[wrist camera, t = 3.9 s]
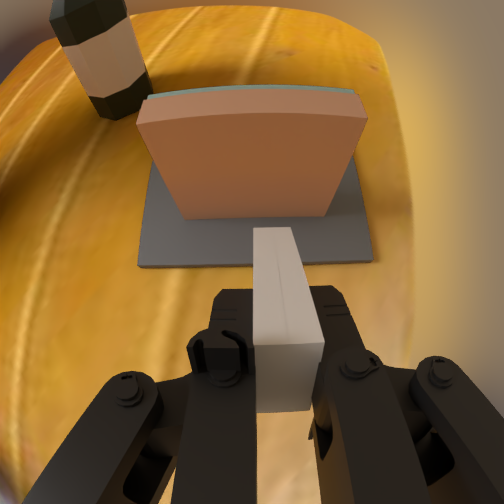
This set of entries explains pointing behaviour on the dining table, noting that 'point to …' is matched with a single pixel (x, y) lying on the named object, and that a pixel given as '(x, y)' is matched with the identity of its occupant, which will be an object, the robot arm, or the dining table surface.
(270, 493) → the dining table surface
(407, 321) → the dining table surface
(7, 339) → the dining table surface
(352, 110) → the tile
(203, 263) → the mat
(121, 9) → the wine bottle
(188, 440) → the robot arm
